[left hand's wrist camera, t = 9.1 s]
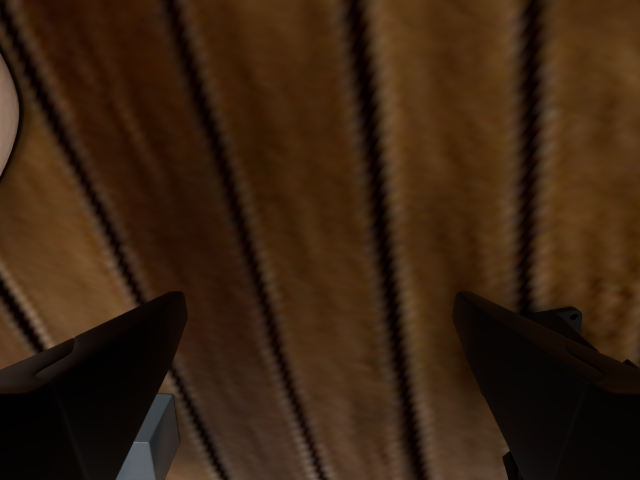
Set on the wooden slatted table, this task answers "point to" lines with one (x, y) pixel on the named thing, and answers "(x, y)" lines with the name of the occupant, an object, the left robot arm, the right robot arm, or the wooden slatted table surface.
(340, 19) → the wooden slatted table surface
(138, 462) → the brick
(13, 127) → the anatomical model
